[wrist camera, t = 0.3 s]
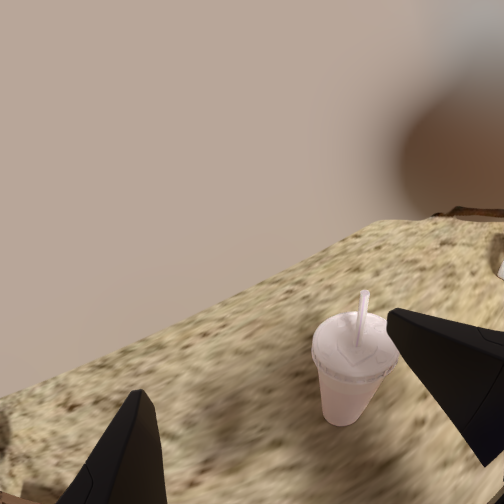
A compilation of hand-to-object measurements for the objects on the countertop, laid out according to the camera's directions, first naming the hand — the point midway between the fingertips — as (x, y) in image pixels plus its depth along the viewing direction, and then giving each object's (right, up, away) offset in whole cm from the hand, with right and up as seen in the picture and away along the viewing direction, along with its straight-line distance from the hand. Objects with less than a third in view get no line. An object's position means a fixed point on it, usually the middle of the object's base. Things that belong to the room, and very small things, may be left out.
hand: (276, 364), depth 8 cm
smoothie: (+7, -11, +13) cm, 19 cm away
